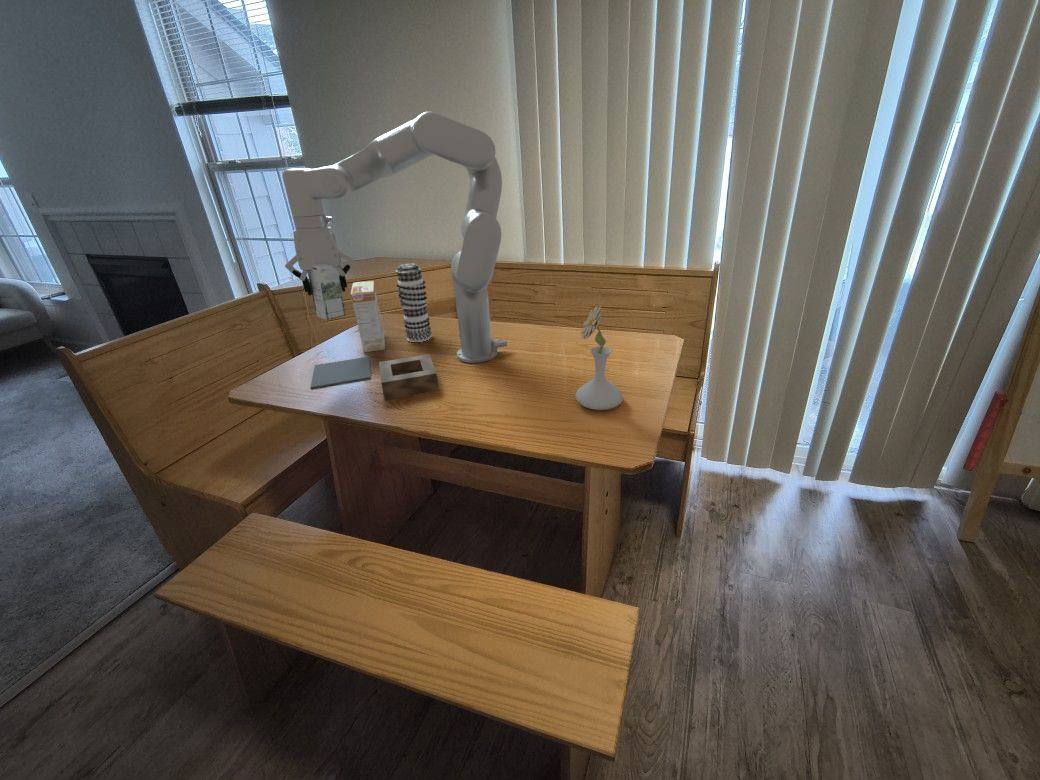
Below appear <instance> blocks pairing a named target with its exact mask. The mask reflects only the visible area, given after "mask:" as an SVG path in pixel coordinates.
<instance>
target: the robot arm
mask: <svg viewBox="0 0 1040 780" xmlns="http://www.w3.org/2000/svg"><path fill="white" fill-rule="evenodd" d="M431 156H437V157H438V158H439V157H440V158H441V159H444V160H446V161H449V162H452V163H455V164H457V165H460V166H463V167H464V168H465V170H466V171H467V174H468V177H469V186H468V187H469V189H468V194H467V199H466V204H465V208H464V209H465V210H464V213H463V218H462V221H461V225H460V231H461V235H462V237H463V241H462V245H461V250H459V251H457V253H455V255H454V256H453V258H452V260H451V264H450V265H451V266H450V270H451V278H452V283H453V289H454V290H453V291H454V297H455V298H454V300H455V306H456V315H457V316H456V317H457V323H458V332H459V333H458V334H459V340H460V343H459V344H460V349H458V351H456V358H457V359H458V360H459V361H461V362H464V363H470V364H478V363H485V362H489V361H491V360H493V359H495V358H496V357H497V355H498V348H504V347H505V348H506V347H508V341H507V340H502V339H501V338H497V339H493V338H492V327H491V317H490V305H489V304H490V303H489V292H488V286H489V284H490V283H491V280H492V278H493V275H494V271H495V266H496V263H497V259H498V254H499V251H500V250H499V249H500V247H501V246H500V245H501V241H502V228H501V224H500V222H499V220H498V219H497V215H498V211H499V206H500V201H501V197H502V196H501V195H502V189H503V178H502V177H503V176H502V172H501V168H500V164H499V163H498V160H497V158H496V146H495V143H494V141H493V139H492V138H491V137H490V136H489V135H488V134H487V133H485V132H484V131H482V130H480V129H477V128H475V127H472V126H470V125H467V124H465V123H462V122H460V121H457V120H454V119H451V118H449V117H447V116H445V115H442V114H440V113H437V112H434V111H425V112H423V113H422V112H421V114H419V115H418V116H417V117H415V118H414V119H412V120H409V121H407V122H406V123H404V124H402V125H400V126H398V127H396V128H394V129H392V130H391V131H388V132H387V133H386V132H385V133H384V134H382V135H380V136H378V137H376V138H375V139H373V140H372V141H371V142H369V144H367V145H366V146H365V147H364V148H362V149H360V150H359V151H358V152H356V153H354V154H352V155H350V156H349V157H346V158H345V159H342V160H340V161H339V162H335V163H334V164H332V165H327V166H321V167H317V168H316V167H315V168H310V167H299V168H298V167H295V168H286V169H284V170H283V171H282V174H281V176H282V181H283V184H284V189H285V192H286V197H287V200H288V205H289V208H290V212H291V216H292V220H293V224H294V228H295V229H293V231H292V234H293V235H292V236H293V242H294V243H293V244H294V249H295V250H294V251H295V254H296V255H294V256H293V257H292V258H291V259H290V260H289V261H288V262H287V263H286V264H285V265H284V267H285V268H286V269H287V270H288V271H289V272H290V273H291V274H292V276H295V277H296V278H298V279H299V280H300V281H302V282H301V283H302V286H303V289H304V292H305V293H307V295H308V297H309V296H312V291H311V287H310V281H309V277H308V271H312V270H313V264H328V265H331V266H332V268H337V272H338V273H339V279H340V283H341V290H342V293H343V292H345V293H346V289H347V288H348V283H347V279H346V275H347V273H348V272H349V271H350V269H351V267H352V265H353V263H354V261H355V259H354V257H353V256H351V255H349V254H346V253H344V252H342V251H340V250H339V246H338V243H337V239H336V237H335V234H334V231H333V228H332V227H331V226H328V225H329V224H330V223H334V222H333V217H332V216H327V215H326V213H325V209H324V203H323V200H327V201H340V200H342V199H345V198H346V197H347V196H349V195H351V194H353V193H356V192H357V191H359V190H361V189H362V188H365V187H366V186H368V185H370V184H373V183H375V182H377V181H379V180H381V179H382V180H383V179H385V178H390V177H391V176H393V175H396V174H398V173H400V172H402V171H403V170H406V169H407V168H410V167H412V166H413V165H416V164H417V163H420V162H421V161H424V160H426V159H428V158H430V157H431ZM342 259H343V260H345V261H346V264H345V265H343V267H342V266H341V263H342ZM296 263H298V266H299V269H300V270H301V271H302V272H301V271H299V270H298V269H296V268H295V267H294V265H295V264H296Z"/></svg>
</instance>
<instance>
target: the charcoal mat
mask: <svg viewBox="0 0 1040 780" xmlns="http://www.w3.org/2000/svg"><path fill="white" fill-rule="evenodd" d="M371 379H372V374H371V360H370V356H364V357H358V358H357V357H356V358H350V359H344V360H338V361H333V362H331V361H330V362H326V363H319V364H314V367H313V374H312V378H311V382H310V389H311V390H313V388H314V389H319V387H320V388H325V387H331V386H337V385H342V384H349V383H355V382H360V381H366V380H371Z"/></svg>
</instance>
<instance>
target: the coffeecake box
mask: <svg viewBox="0 0 1040 780" xmlns="http://www.w3.org/2000/svg"><path fill="white" fill-rule="evenodd" d="M350 298H351V301H352V305H353V309H354V314H355V319H356V323H357V327H358V332H359V336H360V340H361V346H362V349H363V352H364V353H369V352H375V351H376V352H377V351H384V350H386V338H385V337H386V336H385V334H386V333H385V330H384V327H383V326H384V325H383V320H382V316H381V315H382V314H381V312H380V307H379V306H380V305H379V301H378V298H377V291H376V287H375V280H368V281H367V280H366V281H356V282H353V283H352V285H351V291H350Z"/></svg>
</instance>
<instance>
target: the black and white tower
mask: <svg viewBox="0 0 1040 780" xmlns="http://www.w3.org/2000/svg"><path fill="white" fill-rule="evenodd" d="M395 272H396V273H397V284H396V287H397V288H398V289H397V293H398V298H400V299H399V303H400V307H401V308H402V309H403V310H402V311H403V313H404V314H403V318H404V319H403V324H404V327H405V333H406V334H405V336H406V340H408V341H410V342H409V343H411V342H421V343H424V342H423V341H425V342H427V341H426V340H428V341H429V339H430V338H431V337H432V331H431V329H432V327H431V326H430V324H431V322H430V318H429V312H428V311H427V306H428V302H427V301H426V300H427V299H428V298H427V296H426V295H427V292H426V291H424V290H425V289H426V288H427V287H426V285H425V284H426V281H425V280H424V279H423V277H422V268H421V267H419V265H418V264H417V263H409V262H408V263H403V264H399V266H398V267H397V269H395ZM432 338H433V337H432ZM432 338H431V339H432ZM431 339H430V340H431ZM408 341H407V342H408Z"/></svg>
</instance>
